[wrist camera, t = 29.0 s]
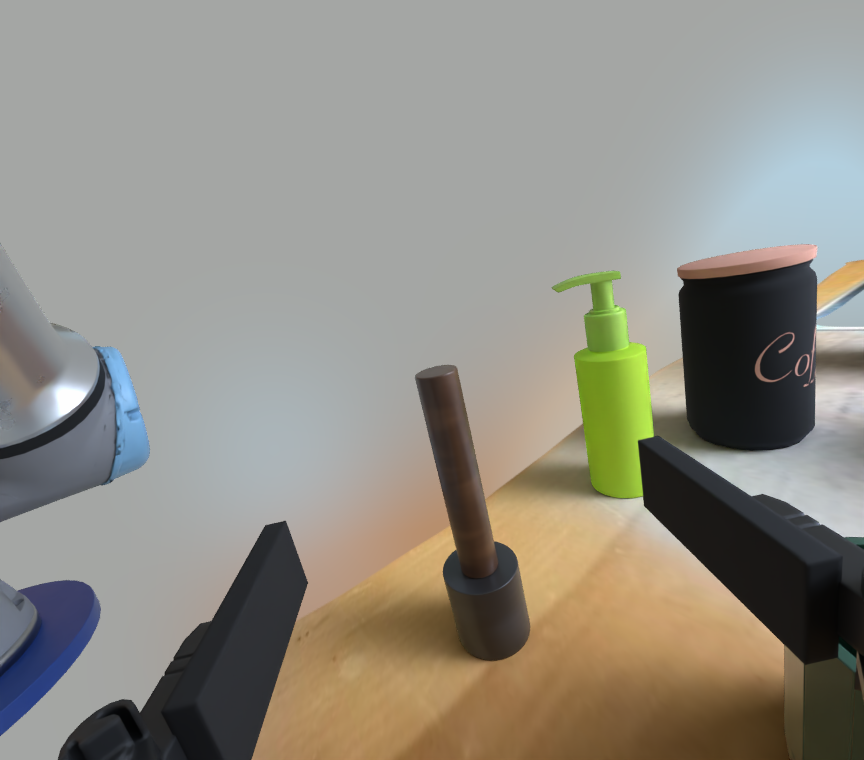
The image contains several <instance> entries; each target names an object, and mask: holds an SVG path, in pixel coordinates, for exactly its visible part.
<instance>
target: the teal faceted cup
mask: <svg viewBox="0 0 864 760" xmlns="http://www.w3.org/2000/svg"><path fill="white" fill-rule="evenodd" d="M845 538H846V539H847V540H849V541H850V542H852V543H854V544H855V545H857V546H859V547H860V548H862V549H864V537H849V538H848V537H845ZM856 659H857V651H856V650H855V649H854V648H853V647H852V646H851V645H849V644H848V643H847V642H846V641H845V640H843V639H842V638H841V637H840V636H839V649H838V658H834V659H830V660H825V661H821V662H817V663H812V664H808V665H805V664H803V663H802V662H801V661H800V660H799V659H798V658H797V657H796V656H795V655H794V654H793V653H792V652H791V651H790V650H789V649H788V648H787V647H786V646H785V645H784V731H785V735H786V743H787V749H788V754H789V757H790V760H864V700H863V695H862V691H858V690H855V675H856Z"/></svg>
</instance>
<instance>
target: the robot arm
mask: <svg viewBox="0 0 864 760" xmlns="http://www.w3.org/2000/svg"><path fill="white" fill-rule="evenodd" d="M139 410H140V409H139V405H138V401H137V397H136V394H135V391H134V388H133V385H132V382H131V379H130V376H129V373H128V370H127V368H126V365H125V363H124V360H123V358H122V356H121V354H120V352H119V351H118V350H117V349H115V348H113V347H100V346H95V347H92V346H91V345H90V344H89V343H88V341H87V340H86V339H85V338H84V337H82V336H81V335H80V334H78V333H77V332H75V331H72V330H71V329H68V328H66V327H63V326H60V325H56V324H53V323H50V322H49V320H48V319H47V317H46V316H45V314H44V312H43V311H42V309H41V308H40V306H39V304H38V303H37V301H36V299H35V298H34V296H33V295H32V293H31V291H30V290H29V288H28V287H27V285H26V284H25V282H24V280H23V279H22V277H21V275H20V274H19V272H18V271H17V269H16V267H15V266H14V264H13V263H12V261H11V259H10V258H9V256H8V255H7V253H6V251H5V250H4V248H3V247H2V245H1V244H0V522H2V521H4V520H7V519H10V518H12V517H15V516H18V515H20V514H23V513H25V512H28V511H31V510H33V509H36V508H39V507H41V506H44V505H47V504H49V503H52V502H55V501H57V500H60V499H63V498H65V497H68V496H71V495H74V494H76V493H79V492H82V491H85V490H87V489H90V488H93V487H96V486H99V485H105V484H108V483H111V482H112V481H113V480H114V479H115V478H118V477H120V476H122V475H125V474H127V473H129V472H132V471H134V470H136V469H138V468H140V467H141V466H142V465H144V464H145V463H146V461H147V459H148V457H149V454H150V448H149V441H148V436H147V432H146V429H145V424H144V421H143V418H142V415H141V413H140V412H139ZM638 449H639V459H640V469H641V479H642V490H643V500H644V506H645V507H646V508H647V509H648V510H649V511H650V512H651V513H652V514H653V515H654V516H655V517H656V518H657V519H658V520H659V521H660V522H661V523H662V524H663V525H664V526H665V527H666V528H667V529H668V530H669V531H670V532H671V533H672V534H673V535H674V536H675V537H676V538H677V539H678V540H679V541H680V542H681V543H682V544H683V545H684V546H685V547H686V548H687V549H688V550H689V551H690V552H691V553H692V554H693V555H694V556H695V557H696V558H697V559H698V560H699V561H700V562H701V563H702V564H703V565H704V566H705V567H706V568H707V569H708V570H709V571H710V572H711V573H712V574H713V575H714V576H715V577H716V578H717V579H718V580H720V581H721V582H722V583H723V584H724V585H725V586H726V587H727V588H728V589H729V590H730V591H731V592H732V593H733V594H734V595H735V596H736V597H737V598H738V599H739V600H740V601H741V602H742V603H743V604H744V605H745V606H746V607H747V608H748V609H749V610H750V611H751V612H752V613H753V614H754V615H755V616H756V617H757V618H758V619H759V620H760V621H761V622H762V623H763V624H764V625H765V626H766V627H767V628H768V629H769V630H770V631H771V632H772V633H773V634H774V635H775V636H776V637H777V638H778V639H779V640H780V641H781V642H782V643H783V644H784V645H785V646H786V647H787V648H788V649H789V650H790V651H791V652H792V653H793V654H794V655H795V656H796V657H797V658H798V659H799V660H800V661H801V662H802V663H803V664H805V665H808V664H812V663H817V662H821V661H825V660H830V659H834V658H838V649H839V636H840V637H841V638H842V639H843V640H845V641H846V642H847V643H848V644H849V645H851V646H852V647H853V648H854V649H855V650H856V651H857V659H856V675H855V690H858V691H862V695H863V700H864V549H862V548H860V547H859V546H857V545H855V544H854V543H852V542H850V541H849V540H847V539H846V538H844V537H842V536H841V535H839V534H837V533H836V532H834V531H832V530H831V529H829V528H827V527H826V526H824V525H823V524H822V525H820V524H819V522H818V521H816V520H814V519H813V518H811V517H809V516H808V515H804V513H803V512H801V511H800V510H798V509H796V508H795V507H793V506H791V505H790V504H788V503H786V502H784V501H781V500H779V499H776V498H773V497H770V496H767V495H764V494H761V495H756V496H752V497H751V496H750V495H748V494H747V493H745V492H744V491H742V490H741V489H739V488H738V487H736V486H735V485H733V484H731V483H730V482H728V481H727V480H725V479H724V478H722V477H721V476H719V475H718V474H716V473H715V472H713V471H712V470H710V469H708V468H707V467H705V466H704V465H702V464H701V463H699V462H698V461H696V460H695V459H693V458H692V457H690V456H689V455H687V454H685V453H684V452H682V451H681V450H679V449H678V448H676V447H675V446H673V445H672V444H670V443H669V442H667V441H666V440H664V439H662V438H661V437H659V436H655V437H651V438H646V439H642V440H638ZM307 584H308V582H307V579H306V576H305V573H304V570H303V568H302V565H301V562H300V559H299V556H298V554H297V551H296V548H295V545H294V542H293V540H292V537H291V534H290V531H289V528H288V526H287V523H286V521H283V522H278V523H274V524H270V525H265V527H264V529H263V530H262V532H261V534H260V536H259V538H258V539H257V541H256V543H255V545H254V547H253V548H252V550H251V552H250V554H249V556H248V557H247V559H246V561H245V563H244V564H243V566H242V568H241V570H240V571H239V573H238V575H237V577H236V579H235V580H234V582H233V584H232V586H231V588H230V589H229V591H228V593H227V595H226V596H225V598H224V600H223V602H222V603H221V605H220V607H219V609H218V611H217V613H216V614H215V616H214V618H213V620H212V621H210V622H206V623H201V624H199V626H198V627H197V628H196V629H195V630H194V631H193V632H192V633H191V634H190V635H189V636H188V637H187V638H186V639H185V640H184V642H183V643H182V645H181V646H180V648H179V650H178V652H177V653H176V655H175V656H174V660H173V661H172V662H171V663H170V665H169V666H168V668H167V670H166V671H165V675H164V676H163V677H162V678H161V679H160V681H159V683H158V684H157V686H156V688H155V689H154V691H153V693H152V694H151V696H150V698H149V699H148V701H147V703H146V704H145V706H144V707H143V709H142V711H141V712H140V713H139V711H138V709H137V707H136V705H135V704H134V703H133V702H132V700H124V699H122V700H119V701H116V702H113V703H110V704H108V705H106V706H104V707H103V708H101V709H99V710H98V711H96V712H95V713H93V714H92V715H91V716H90V717H88V718H87V719H86V720H85V721H83V722H82V723H81V724H80V725H79V726H78V727H77V728H76V729H75V731H74V732H73V733H72V734H71V735H70V736H69V737H68V739H67V740H66V742H65V744H64V745H63V747H62V748H61V750H60V754H59V757H58V760H251V759H252V756H253V752H254V749H255V746H256V743H257V740H258V737H259V734H260V731H261V728H262V724H263V721H264V718H265V715H266V712H267V709H268V706H269V703H270V699H271V696H272V693H273V690H274V687H275V684H276V681H277V678H278V674H279V671H280V668H281V665H282V662H283V659H284V656H285V653H286V650H287V646H288V643H289V640H290V637H291V634H292V631H293V628H294V625H295V621H296V618H297V615H298V612H299V609H300V606H301V603H302V600H303V596H304V593H305V590H306V587H307ZM40 626H41V617H40V615H39V613H38V611H37V610H36V608H35V606H34V605H33V604H32V603H31V602H30V600H29V599H28V598H27V597H26V596H25V595H23V594H22V593H20V592H18V591H16V590H15V589H14V588H12V587H11V586H10V585H8V584H6V583H5V582H4V581H2V580H0V677H1V676H2V675H3V674H4V673H5V672H6V671H7V670H8V669H9V668H10V667H11V666H12V665H13V664H14V663H15V662H16V661H17V660H18V659H19V658H20V657H21V656H22V655H23V653H24V652H25V651H26V650H27V649H28V647H29V646H30V645H31V643H32V642H33V640H34V639H35V637H36V635H37V634H38V632H39V629H40Z"/></svg>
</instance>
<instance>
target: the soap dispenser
mask: <svg viewBox="0 0 864 760" xmlns="http://www.w3.org/2000/svg"><path fill="white" fill-rule="evenodd" d="M616 279H621V276H620V272H619V271H606V272H598V273H591V274H585V275H581V276H577V277H574V278H571V279H568V280H565V281H563V282H561V283H559V284H557V285H555V286H553V287H552V289H553V290H555V291H556V292H562V291H564V290H566V289H569V288H572V287H575V286H579V285H583V284H589V283H590V285H591V293H592V302H593V309H592V310H590V311H589V313H587V314H585V315H584V321H585V329H586V337H587V345H588V348H585V349H583V350H580V351H578V352H577V353H576V354H575V355H574V359H575V367H576V374H577V381H578V389H579V395H580V404H581V411H582V418H583V426H584V433H585V440H586V448H587V455H588V462H589V470H590V477H591V483H592V486H593V487H594V488H595V489H596V490H597V491H598V492H600V493H602V494H605V495H607V496H611V497H616V498H636V497H641V496H643V490H642V479H641V469H640V459H639V449H638V440H642V439H646V438H651V437H654V432H653V420H652V409H651V398H650V387H649V376H648V364H647V354H646V347H645V346H644V345H642V344H639V343H632V342H629V337H628V326H627V316H626V309H624V308H619V306H617V305H614V297H613V288H612V280H616Z"/></svg>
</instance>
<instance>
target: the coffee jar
mask: <svg viewBox="0 0 864 760" xmlns="http://www.w3.org/2000/svg"><path fill="white" fill-rule="evenodd" d="M816 255H817V246H816V245H809V244H803V245H788V246H778V247H770V248H763V249H755V250H750V251H743V252H737V253H732V254H727V255H721V256H716V257H711V258H707V259H702V260H698V261H694V262H690V263H688V264H685V265H682V266H680V267H679V268H677V272H678V276H679V277H680V278H681V279H682V280H683V282H684V286H683V287H682V288H681V290H680V292H679V307H680V320H681V321H680V322H681V337H682V351H683V366H684V381H685V396H686V410H687V420H688V422H689V424H690V426H691V428H692V429H693V430H694V431H696V433H697V435H699V436H700V437H701V438H703V439H704V440H706V441H709V442H711V443H714V444H716V445H720V446H725V447H729V448H735V449H745V450H771V449H778V448H784V447H788V446H791V445H794V444H796V443H799V442H800V441H801V440H802V439H803V438H804V437H805V436H806V435H807V434H808V433H809V432H810V431H811V430H812V429H813V428H814V426H815V374H816V313H817V276H816V273H815V271H813V270H812V269H811V268H810V267H809V266H810V263H811V262H812V261H813V258H815V257H816Z"/></svg>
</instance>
